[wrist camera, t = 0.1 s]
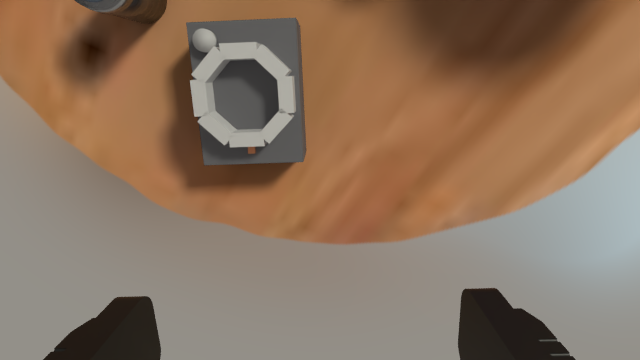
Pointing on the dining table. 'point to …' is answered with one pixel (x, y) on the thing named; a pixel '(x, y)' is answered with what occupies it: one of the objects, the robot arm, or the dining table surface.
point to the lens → (129, 8)
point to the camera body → (248, 90)
